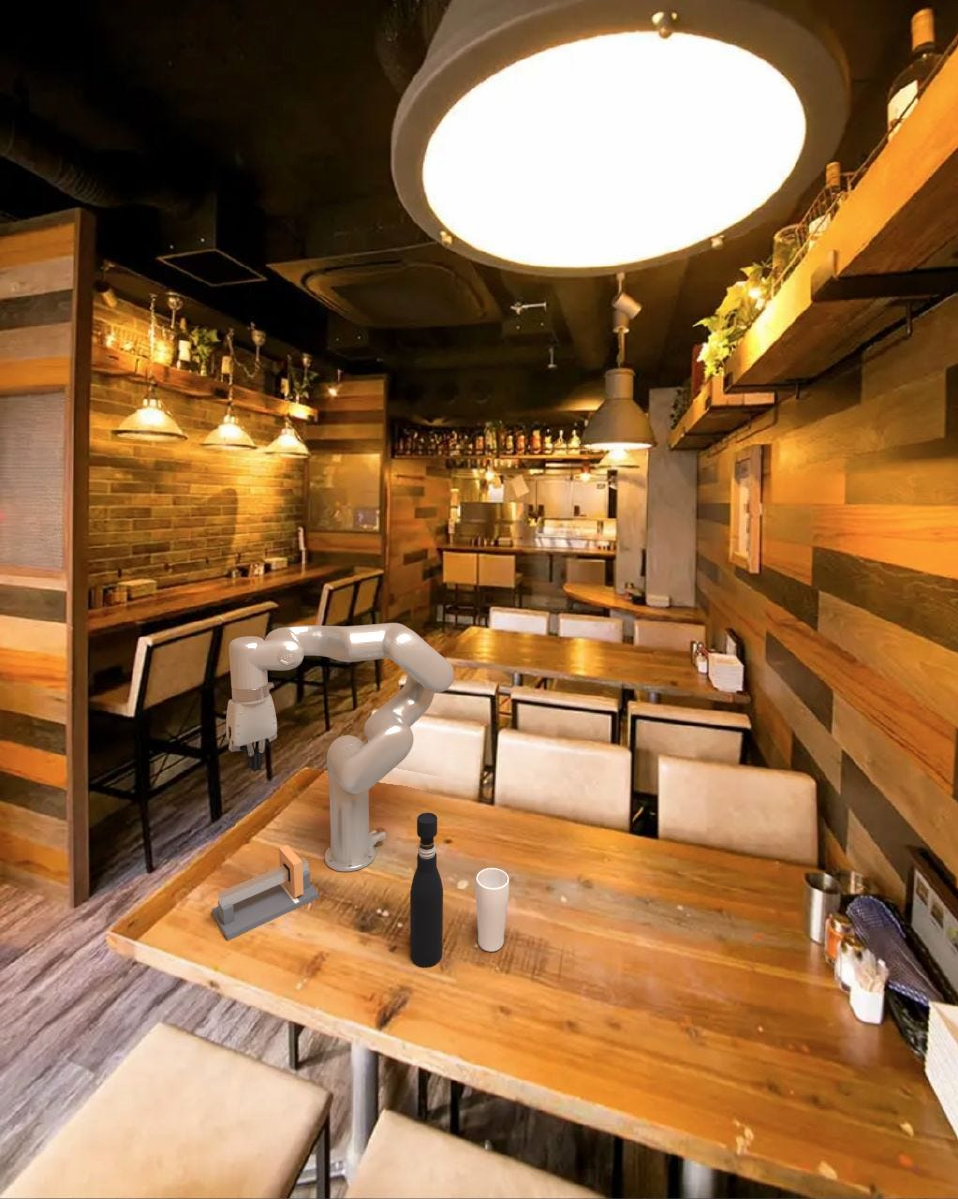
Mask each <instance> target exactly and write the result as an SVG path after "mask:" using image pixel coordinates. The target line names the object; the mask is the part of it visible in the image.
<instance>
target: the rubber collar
mask: <svg viewBox="0 0 958 1199" xmlns="http://www.w3.org/2000/svg"><path fill="white" fill-rule="evenodd" d="M278 853H279V854H278V855H279V867H281V866H283V864H286V865H287V866H288V867H289V869H290V881H286V882H283V883H284V884H285V886H286V887H287V888H288V889H289V891H290V892H291V893H292V894H293V896H294V897H297V896H300V895H302V894H304V891H303V863H302V860H301V859H300V857H299V856H298V855H297V854H296V853H295V852H294V850H293V849H292V848H291V847H290V846H289V845H288V844H285V845H284V846H281V847H279V848H278Z"/></svg>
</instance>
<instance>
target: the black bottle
mask: <svg viewBox="0 0 958 1199" xmlns="http://www.w3.org/2000/svg"><path fill="white" fill-rule="evenodd" d="M416 834H417V837H419V838H420V840H419V843H420V844H419V845H418V853H417V856H416V860H417V861H416V866H417V867H416V869H415V872H414V874H413V877H412V882H411V886H410V892H409V893H410V894H409V895H410V896H409V897H410V900H409V901H410V902H409V904H410V906H409V914H410V915H409V916H410V917H409V926H410V927H409V930H410V931H409V934H410V935H409V939H410V940H409V942H410V943H409V947H410V948H409V957H410V961H411V962H412V963H413V964H414V965H415V966H416V967H420V968H426V969H427V968H430V967H431V968H432V967H434V966H436V965H437V964H439V962H440V961H441V960H442V957H443V944H444V943H443V931H444V925H443V924H444V885H443V882H442V878H441V875H440V872H439V869H438V867H437V864H438V863H437V862H438V861H437V860H438V859H437V851H436V850H437V849H436V844H435V840H434V838H435V837H436V836H438V816H437V815H436V814H434V813H432V812H423V813H420V814H419V815H418V816H417V818H416Z"/></svg>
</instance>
